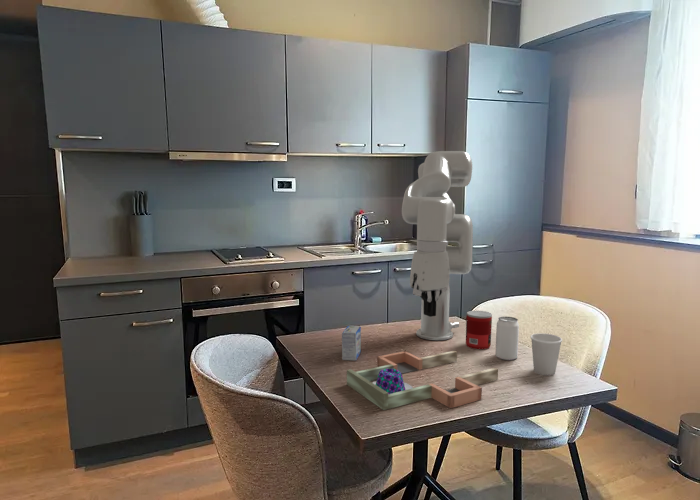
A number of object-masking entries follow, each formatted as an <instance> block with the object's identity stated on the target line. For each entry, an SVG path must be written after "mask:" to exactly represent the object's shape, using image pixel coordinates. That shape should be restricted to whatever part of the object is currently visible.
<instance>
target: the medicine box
mask: <svg viewBox="0 0 700 500" xmlns="http://www.w3.org/2000/svg"><path fill="white" fill-rule="evenodd" d="M361 339H362V327H361V326H359V325H347V326H346V327H345V328H344V329H343V331H342V332H341V359H342V361H351V362H352V361H354V362H356V361H357V360H358V358H359V356H360V354H361V351H362V350H361V349H362V348H361V347H362V346H361V345H362V340H361Z"/></svg>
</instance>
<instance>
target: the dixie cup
mask: <svg viewBox="0 0 700 500" xmlns="http://www.w3.org/2000/svg"><path fill="white" fill-rule="evenodd" d="M530 339H531V351H532V352H531V353H532V364H533V366H532V367H533V372H534V373H535V374H538V375H542V376H554V375H555V374H556V370H557V364H558V360H559V357H560V356H559V355H560V352H561V351H560V350H561V346H562V342H563V338H562V337H561V336H558V335H555V334H551V333H545V332H544V333H540V332H538V333H533V334H530Z"/></svg>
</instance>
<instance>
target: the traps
mask: <svg viewBox="0 0 700 500" xmlns="http://www.w3.org/2000/svg"><path fill="white" fill-rule="evenodd" d="M421 358H422V357H418V356H416V355H414V354H412V353H410V352H409V351H406V350H404V351H399V352H393V353H389V354H384V355H383V354H382V355H379V356H377V358H376V360H377V361H376V366H377V367H380V366H385V365H390V364H392V365H394V369H395V370H399V371H400V372H401V374H402V375H404V374H408V373H412V372H418V371H420V370H423V369H422V361H423V359H421ZM428 384H429V385H431V386H432V391H431V398H430V399H433V400H434V401H437V402H438V403H441V405H444V406H446V407H448V408H449V409H453V408H457V407H460V406H463V405H467V404H470V403H474V402H477V401H480V400H482V396H483V395H482V391H483V388H482V387H481V386H479V385H475V384H473V383H471V382H469V381H467V380H465V379H463V378H460V376H457V377H455V378H454V388H450V389H446V390H445V389H443V388H441V387H440V386H438V385H436V384H435V383H428Z"/></svg>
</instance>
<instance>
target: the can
mask: <svg viewBox="0 0 700 500" xmlns="http://www.w3.org/2000/svg"><path fill="white" fill-rule="evenodd" d="M518 321H519V320H518V318H516V317H512V316H499V317H498V320H497V322H496V335H495V357H496V358H497V359H500V360H504V361H515V360H516V359H517V358H518V353H519V335H520V332H519V329H520V325H519V324H520V323H519V322H518Z"/></svg>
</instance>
